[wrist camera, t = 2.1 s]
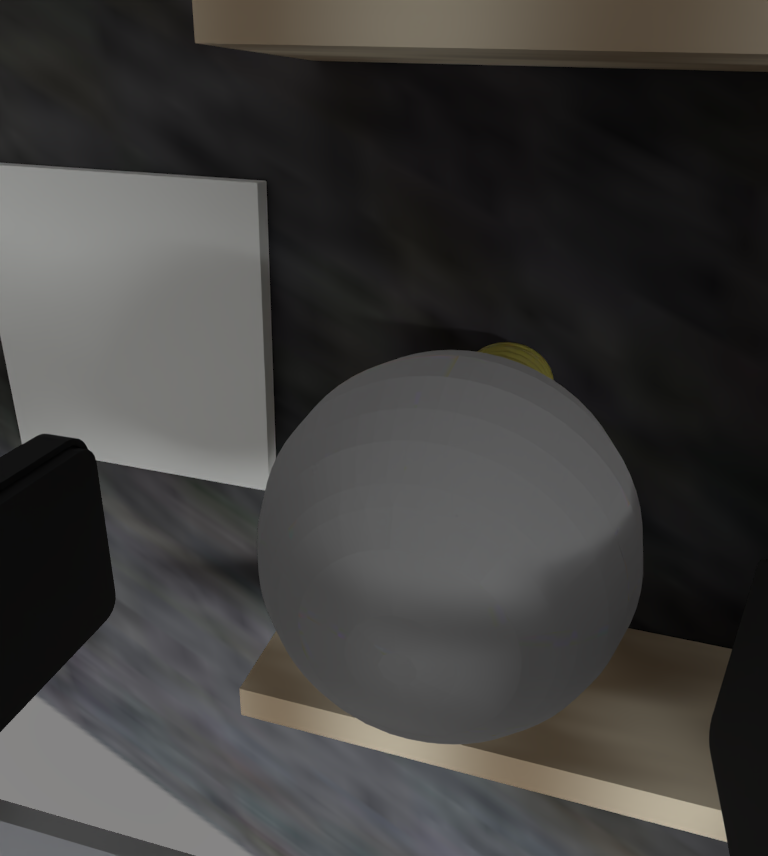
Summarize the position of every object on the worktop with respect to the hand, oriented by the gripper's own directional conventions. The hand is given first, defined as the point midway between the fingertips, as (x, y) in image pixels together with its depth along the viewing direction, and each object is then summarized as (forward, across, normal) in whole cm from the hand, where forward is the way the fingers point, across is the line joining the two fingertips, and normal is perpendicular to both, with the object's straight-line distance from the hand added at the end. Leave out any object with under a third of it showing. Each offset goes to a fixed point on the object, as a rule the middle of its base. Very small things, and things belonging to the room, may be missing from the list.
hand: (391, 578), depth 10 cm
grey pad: (+8, +9, 0) cm, 12 cm away
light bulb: (+8, -1, 0) cm, 8 cm away
